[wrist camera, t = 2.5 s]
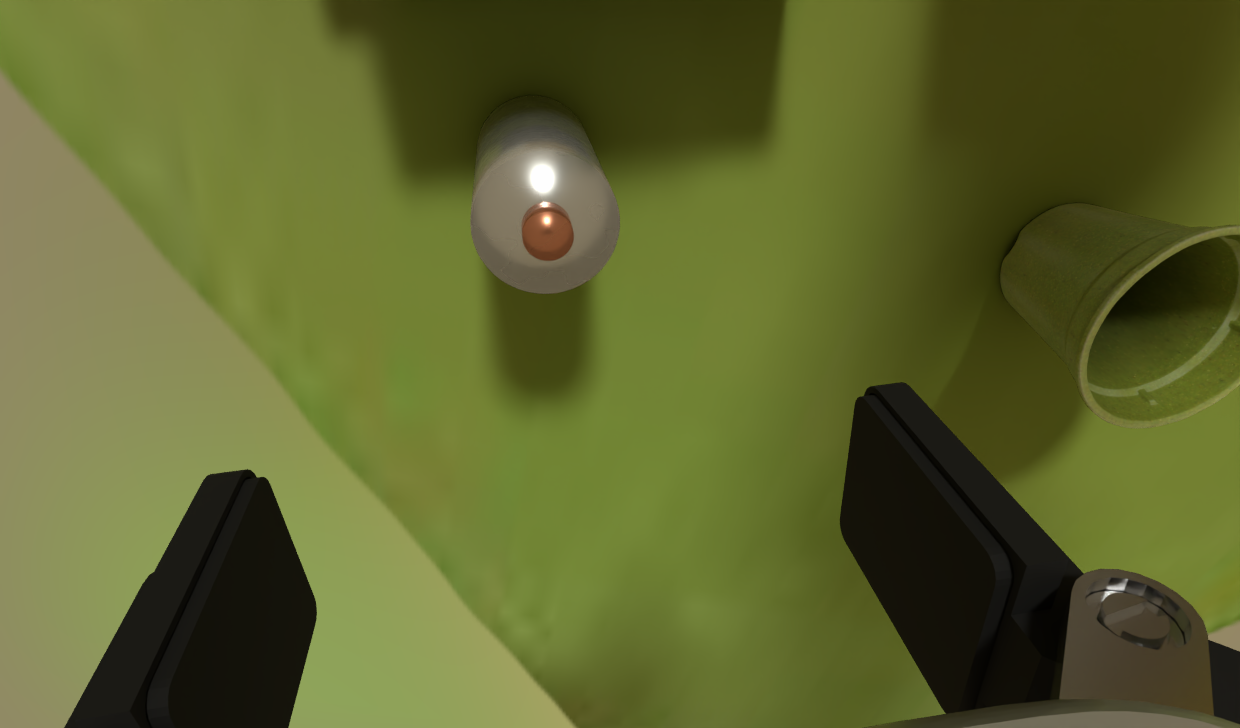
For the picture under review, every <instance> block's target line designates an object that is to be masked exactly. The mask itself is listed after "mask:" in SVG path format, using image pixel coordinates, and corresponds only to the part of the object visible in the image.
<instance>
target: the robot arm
mask: <svg viewBox="0 0 1240 728" xmlns="http://www.w3.org/2000/svg"><path fill="white" fill-rule="evenodd" d="M840 527H841V532H842V535H843V538H844V540H845V542H846V544H847V546H848V547H849V549H850V551H851V553H852V554H853V556H854V558H855V559H856V561H857V563H858V565H859V566H860V568H861V570H862V571H863V573H864V575H865V577H866V578H867V580H868V582H869V584H870V585H871V587H872V589H873V590H874V592H875V594H876V596H877V597H878V599H879V601H880V602H881V604H882V606H883V608H884V609H885V611H886V613H887V614H888V616H889V618H890V620H891V621H892V623H893V625H894V627H895V628H896V630H897V632H898V633H899V635H900V637H901V639H902V640H903V642H904V644H905V645H906V647H907V649H908V651H909V652H910V654H911V656H912V657H913V659H914V661H915V663H916V664H917V666H918V668H919V670H920V671H921V673H922V675H923V676H924V678H925V680H926V682H927V683H928V685H929V687H930V688H931V690H932V692H933V694H934V695H935V697H936V699H937V700H938V702H939V704H940V706H941V707H942V709H943V710H944V712H945V713H946V714H943V715H936V716H930V717H924V718H917V719H911V720H905V721H898V722H893V723H887V724H881V725H875V726H870V727H864V728H1240V652H1239V651H1236V650H1233V649H1231V648H1229V647H1226V646H1223V645H1221V644H1218V643H1215V642H1213V641H1210V640H1208V634H1207V631H1206V628H1205V625H1204V622H1203V620H1202V618H1201V617H1200V616H1199V614H1198V613H1197V612H1196V610H1195V609H1194V608H1193V606H1192V605H1191V604H1189V603H1188V602H1187V601H1186V600H1185V599H1184V598H1182V597H1181V596H1180V595H1179V594H1178V593H1176V592H1175V591H1173V590H1171V589H1170V588H1168V587H1166V586H1165V585H1163V584H1161V583H1160V582H1158V581H1155V580H1153V579H1150V578H1148V577H1145V576H1143V575H1140V574H1137V573H1133V572H1128V571H1124V570H1119V569H1098V570H1094V571H1090V572H1086V573H1085V574H1083V572H1082V571H1081V570H1080V569H1079V568H1078V567H1077V566H1076V565H1075V564H1074V563H1073V562H1072V561H1071V560H1070V558H1069V557H1068V556H1067V555H1066V554H1065V553H1064V552H1063V551H1062V550H1061V549H1060V548H1059V547H1058V546H1057V544H1056V543H1055V542H1054V541H1053V540H1052V539H1051V538H1050V537H1049V536H1048V535H1047V534H1046V533H1045V532H1044V530H1043V529H1042V528H1041V527H1040V526H1039V525H1038V524H1037V523H1036V522H1035V521H1034V520H1033V519H1032V518H1031V516H1030V515H1029V514H1028V513H1027V512H1026V511H1025V510H1024V509H1023V508H1022V507H1021V506H1020V505H1019V504H1018V502H1017V501H1016V500H1015V499H1014V498H1013V497H1012V496H1011V495H1010V494H1009V493H1008V492H1007V491H1006V489H1005V488H1004V487H1003V486H1002V485H1001V484H1000V483H999V482H998V481H997V480H996V479H995V478H994V477H993V475H992V474H991V473H990V472H989V471H988V470H987V469H986V468H985V467H984V466H983V465H982V464H981V463H980V462H979V461H978V460H977V459H976V457H975V456H974V455H973V454H972V453H971V452H970V451H969V450H968V449H967V448H966V447H965V446H964V445H963V443H962V442H961V441H960V440H959V439H958V438H957V437H956V436H955V435H954V434H953V433H952V432H951V430H950V429H949V428H948V427H947V426H946V425H945V424H944V423H943V422H942V421H941V420H940V419H939V418H938V416H937V415H936V414H935V413H934V412H933V411H932V410H931V409H930V408H929V407H928V406H927V405H926V404H925V402H924V401H923V400H922V399H921V398H920V397H919V396H918V395H917V394H916V393H915V392H914V391H913V390H912V388H911V387H910V386H909V385H907V384H906V383H902V382H901V383H893V384H886V385H878V386H871V387H869V388H867V390H866V392H865V395H864V396H862V397H859V398H857V400H856V402H855V408H854V415H853V423H852V430H851V438H850V446H849V453H848V461H847V468H846V476H845V484H844V491H843V499H842V506H841V514H840ZM316 615H317V610H316V601H315V598H314V595H313V592H312V590H311V587H310V585H309V582H308V580H307V577H306V574H305V572H304V569H303V567H302V564H301V562H300V559H299V557H298V554H297V552H296V549H295V547H294V544H293V541H292V539H291V537H290V534H289V531H288V529H287V526H286V524H285V521H284V518H283V516H282V514H281V511H280V508H279V506H278V503H277V501H276V498H275V496H274V493H273V491H272V488H271V486H270V483H269V481H268V480H267V479H266V478H265V477H260V478H257V477H256V475H255V474H254V473H253V472H252V471H251V470H248V469H247V470H240V471H232V472H224V473H217V474H210V475H208V476H207V477H206V478H205V479H204V480H203V482H202V484H201V486H200V488H199V490H198V491H197V493H196V495H195V497H194V499H193V501H192V502H191V504H190V506H189V508H188V510H187V512H186V514H185V516H184V517H183V519H182V521H181V523H180V525H179V527H178V528H177V530H176V532H175V534H174V536H173V538H172V540H171V541H170V543H169V545H168V547H167V549H166V551H165V553H164V555H163V557H162V558H161V560H160V562H159V564H158V566H157V568H156V569H155V572H153V573H152V574H150V575H149V576H148V578H147V579H146V580H145V582H144V583H143V584H142V586H141V588H140V590H139V592H138V594H137V595H136V597H135V599H134V601H133V603H132V605H131V607H130V608H129V610H128V612H127V614H126V616H125V617H124V619H123V621H122V623H121V625H120V627H119V629H118V630H117V632H116V634H115V636H114V638H113V640H112V641H111V643H110V645H109V647H108V649H107V651H106V652H105V654H104V656H103V658H102V660H101V661H100V663H99V665H98V667H97V669H96V671H95V672H94V674H93V676H92V678H91V680H90V682H89V683H88V685H87V687H86V689H85V691H84V693H83V694H82V696H81V698H80V700H79V702H78V704H77V706H76V707H75V709H74V711H73V713H72V715H71V717H70V718H69V720H68V722H67V724H66V726H65V727H64V728H288V726H289V722H290V719H291V715H292V711H293V707H294V704H295V700H296V696H297V692H298V688H299V684H300V681H301V677H302V673H303V669H304V665H305V662H306V658H307V654H308V650H309V646H310V643H311V639H312V635H313V631H314V627H315V623H316Z"/></svg>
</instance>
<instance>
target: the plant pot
mask: <svg viewBox="0 0 1240 728" xmlns="http://www.w3.org/2000/svg"><path fill="white" fill-rule="evenodd" d="M1000 284H1001V289H1002V292H1003V295H1004V297H1005V298H1006V300H1007V301H1008V303H1009V304H1010V305H1011V306H1012V307H1013V308H1014V309H1015V310H1016V311H1017V312H1018V313H1019V314H1020V315H1021V316H1022V317H1023V319H1024V320H1025V321H1026V322H1027V323H1028V324H1029V325H1030V326H1031V327H1032V328H1033V329H1034V330H1035V331H1036V332H1037V333H1038V334H1039V335H1040V336H1041V338H1042V339H1043V340H1044V341H1045V342H1046V343H1047V344H1048V345H1049V346H1050V347H1051V348H1052V349H1053V350H1054V351H1055V352H1056V354H1057V355H1058V356H1059V357H1060V358H1061V359H1062V360H1063V361H1064V362H1065V363H1066V364H1067V366H1068V369H1069V371H1070V373H1071V375H1072V376H1073V378H1074V379H1075V381H1076V383H1077V387H1078V390H1079V393H1080V395H1081V397H1082V399H1083V401H1084V402H1085V404H1086V405H1087V406H1088V407H1089V408H1090V409H1091V410H1092V411H1093V412H1094V413H1095V414H1096V415H1097V416H1098V417H1100V418H1102V419H1103V420H1105V421H1107V422H1109V423H1112V424H1114V425H1118V426H1122V427H1128V428H1148V427H1156V426H1161V425H1166V424H1169V423H1172V422H1176V421H1179V420H1182V419H1185V418H1187V417H1189V416H1191V415H1193V414H1195V413H1197V412H1199V411H1201V410H1204V409H1205V408H1207V407H1208V406H1210V405H1212V404H1214V403H1216V402H1217V401H1219V400H1220V399H1222V398H1223V397H1225V396H1226V395H1227V394H1228V393H1229V392H1231V391H1232V390H1234V389H1235V388H1236V387H1237V386H1239V385H1240V225H1226V226H1218V227H1186V226H1181V225H1177V224H1172V223H1168V222H1163V221H1159V220H1154V219H1150V218H1145V217H1141V216H1137V215H1133V214H1128V213H1124V212H1120V211H1116V210H1112V209H1108V208H1104V207H1099V206H1095V205H1090V204H1084V203H1070V204H1065V205H1061V206H1058V207H1055V208H1052V209H1050V210H1048V211H1046V212H1044V213H1043V214H1041V215H1039V216H1038V217H1036V218H1035V219H1033V220H1032V221H1031V222H1030V223H1029V224H1027V225H1026V226H1025V227H1024V228H1023V229H1022V230H1021V232H1020V234H1019V236H1018V239H1017V241H1016V243H1015V245H1014V246H1013V248H1012V249H1011V251H1010V252H1009V254H1008V255H1007V256H1006V257H1005V258H1004V260H1003V262H1002V266H1001V272H1000Z"/></svg>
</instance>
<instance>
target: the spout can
mask: <svg viewBox="0 0 1240 728" xmlns="http://www.w3.org/2000/svg"><path fill="white" fill-rule="evenodd" d="M619 229H620V216H619V209H618V205H617V201H616V198H615V196H614V194H613V191H612V189H611V187H610V185H609V183H608V180H607V178H606V176H605V174H604V172H603V169H602V167H601V165H600V163H599V161H598V158H597V156H596V154H595V152H594V150H593V147H592V145H591V143H590V141H589V139H588V136H587V134H586V132H585V130H584V128H583V126H582V124H581V122H580V121H579V119H578V118H577V117H576V116H575V114H574V113H573V112H572V111H570V110H569V109H568V108H567V107H566V106H564V105H563V104H561V103H559V102H557V101H555V100H553V99H550V98H547V97H543V96H535V95H532V96H521V97H517V98H514V99H511V100H509V101H507V102H505V103H503V104H502V105H500V106H499V107H497V108H496V109H495V110H494V111H493V112H492V113H491V114H490V115H489V117H488V118H487V119H486V121H485V122H484V124H483V126H482V128H481V131H480V134H479V137H478V142H477V152H476V163H475V174H474V186H473V197H472V208H471V234H472V238H473V242H474V245H475V248H476V250H477V252H478V254H479V256H480V258H481V260H482V261H483V262H484V264H485V265H486V266H487V268H488V269H489V270H490V271H491V272H492V273H493V274H494V275H495V276H497V277H498V278H499V279H500V280H502V281H503V282H505V283H507V284H508V285H510V286H513V287H515V288H517V289H520V290H523V291H526V292H532V293H540V294H550V293H559V292H564V291H567V290H570V289H573V288H576V287H578V286H580V285H582V284H584V283H585V282H587V281H589V280H590V279H591V278H592V277H594V276H595V275H596V274H597V273H598V272H599V271H600V270H601V269H602V268H603V267H604V266H605V264H606V263H607V262H608V260H609V258H610V257H611V255H612V253H613V251H614V249H615V246H616V243H617V240H618V236H619Z"/></svg>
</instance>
